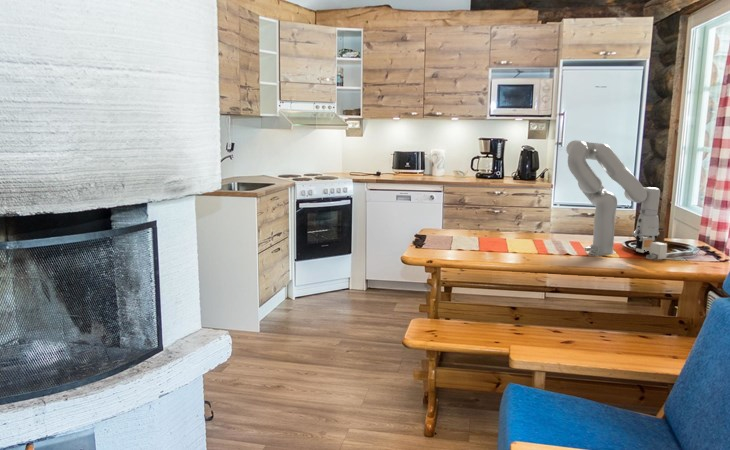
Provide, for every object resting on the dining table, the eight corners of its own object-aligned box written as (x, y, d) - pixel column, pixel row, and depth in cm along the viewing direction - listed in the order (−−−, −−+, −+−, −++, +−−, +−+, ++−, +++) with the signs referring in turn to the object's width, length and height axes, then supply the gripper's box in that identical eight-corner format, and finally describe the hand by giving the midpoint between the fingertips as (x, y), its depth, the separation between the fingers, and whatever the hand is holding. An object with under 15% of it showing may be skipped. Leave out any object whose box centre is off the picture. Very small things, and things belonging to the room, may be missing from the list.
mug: (642, 247, 300) (643, 230, 298) (637, 244, 307) (638, 227, 306) (666, 248, 298) (667, 230, 297) (660, 245, 306) (661, 227, 304)
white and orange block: (652, 252, 282) (654, 238, 281) (642, 253, 280) (644, 239, 279) (645, 250, 286) (647, 236, 285) (635, 250, 285) (637, 237, 283)
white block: (659, 259, 269) (660, 244, 267) (649, 256, 274) (650, 242, 273) (667, 258, 270) (668, 244, 269) (657, 255, 276) (658, 241, 274)
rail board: (653, 262, 267) (653, 256, 267) (641, 259, 274) (642, 253, 273) (696, 258, 275) (697, 252, 274) (684, 255, 281) (685, 249, 281)
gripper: (640, 213, 274) (635, 250, 277) (668, 213, 279) (664, 249, 282) (628, 211, 281) (624, 247, 284) (657, 211, 286) (652, 246, 289)
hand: (644, 248), depth 283 cm, fingers closed on white and orange block, 6 cm apart
